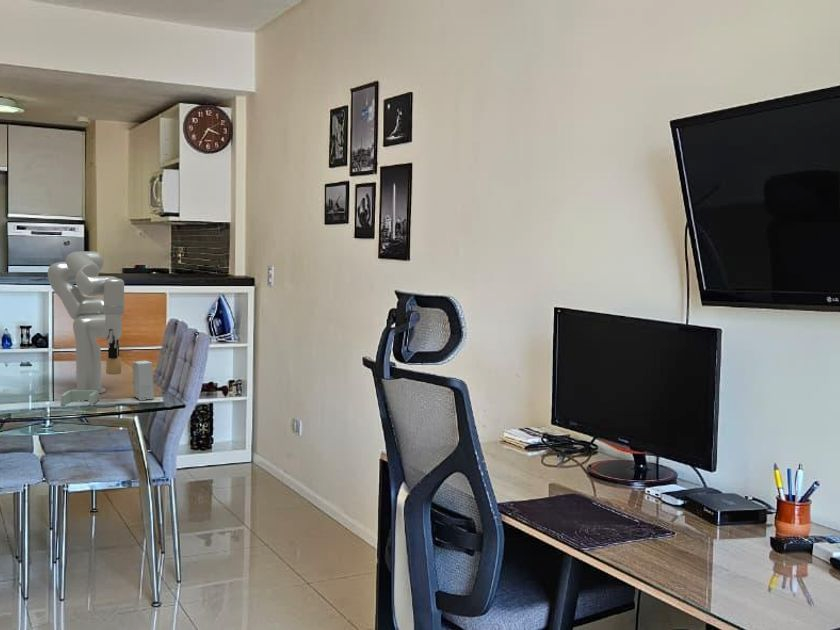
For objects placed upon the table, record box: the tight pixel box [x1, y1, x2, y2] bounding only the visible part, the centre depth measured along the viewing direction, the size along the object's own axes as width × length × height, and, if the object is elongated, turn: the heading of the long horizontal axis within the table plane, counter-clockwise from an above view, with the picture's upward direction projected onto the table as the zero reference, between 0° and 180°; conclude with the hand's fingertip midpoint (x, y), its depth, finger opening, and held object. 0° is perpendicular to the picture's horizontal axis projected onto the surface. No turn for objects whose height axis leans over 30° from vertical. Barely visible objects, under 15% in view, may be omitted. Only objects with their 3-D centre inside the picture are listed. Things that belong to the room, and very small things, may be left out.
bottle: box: [105, 345, 122, 375], centre depth 349 cm, size 6×6×11 cm
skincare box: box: [132, 360, 155, 401], centre depth 354 cm, size 8×6×15 cm
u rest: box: [60, 389, 100, 407], centre depth 344 cm, size 10×11×4 cm
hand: (113, 356), depth 349 cm, fingers closed on bottle, 3 cm apart
